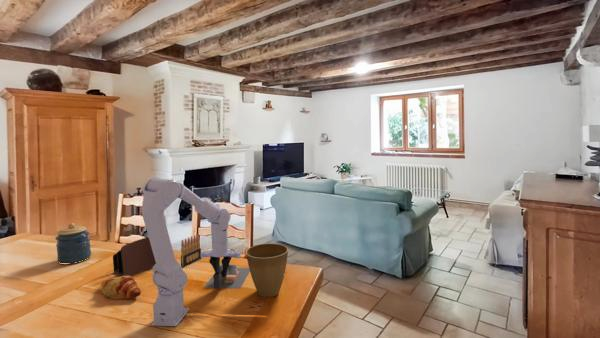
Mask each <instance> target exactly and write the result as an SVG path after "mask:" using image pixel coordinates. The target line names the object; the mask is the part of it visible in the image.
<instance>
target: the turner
mask: <svg viewBox="0 0 600 338" xmlns="http://www.w3.org/2000/svg"><path fill="white" fill-rule="evenodd" d="M237 268H238V264H236V263H235V264H234V263H233V264H230V263H229V266H228V270H227V275H237ZM227 275H226V277H223V266H222V263H220V267H219V269H218V270H217V271H216V272H215V271H214V273H213V275H212V276H213V278H214V288H213V289H221V288H220V287H221V286H222V284H223V283H224V281H225V280H226V279H227Z"/></svg>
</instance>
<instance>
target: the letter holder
mask: <svg viewBox="0 0 600 338" xmlns="http://www.w3.org/2000/svg"><path fill="white" fill-rule="evenodd" d="M112 263H113V264H112V265H113V273H115V274H116V275H118V276H119V277H122V276H131V277H132V276H134V275H138V274H140V273H143V272H146V271H149V270H153V266H154V265H155V264H156V261H155V258H154V254H153V251H152V247H151V244H150V240H149V237H148V236H146V237H143V238H140V239H137V240H135V241H132V242H129V243H127V244H125V245H122V247H121V248H120V250H117V252H116V253H114V254H113V255H112Z"/></svg>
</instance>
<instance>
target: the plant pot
mask: <svg viewBox="0 0 600 338" xmlns="http://www.w3.org/2000/svg"><path fill="white" fill-rule="evenodd" d="M245 254H246V260H247V266H248V268H249V269H250V272H249V273H250V276H251V278H252V282H253V284H254V288H255V289H256V292H257V294H258V295H259V296H261V297H264V298H271V297H273V298H274V297H277V296H278V294H279V293H280V291H281V288H282V284H283V281H284V278H285V272H286V269H287V261H288V254H289V248H288V247H287V246H286V245H284V244H281V243H270V242H269V243H261V244H256V245H253V246H251V247H248V248H247V249H246V250H245Z"/></svg>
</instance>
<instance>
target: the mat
mask: <svg viewBox="0 0 600 338" xmlns="http://www.w3.org/2000/svg"><path fill="white" fill-rule="evenodd" d="M237 271H239V276H238V277H237V279H236V280H235V282H234V283H225V282H224V283H223V284H222V286H221V287H220V289H238V290H239V289H241V288H242V286H243V284H244V282H245V281H246V279H247V277H248V276H249V273H250V269H249V267H237ZM204 288H205V289H215V288H214V278H213V275H212V276H211V278H210V279H209V280H208V281H207V282H206V284H205V285H204V286H203V289H204Z"/></svg>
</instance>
